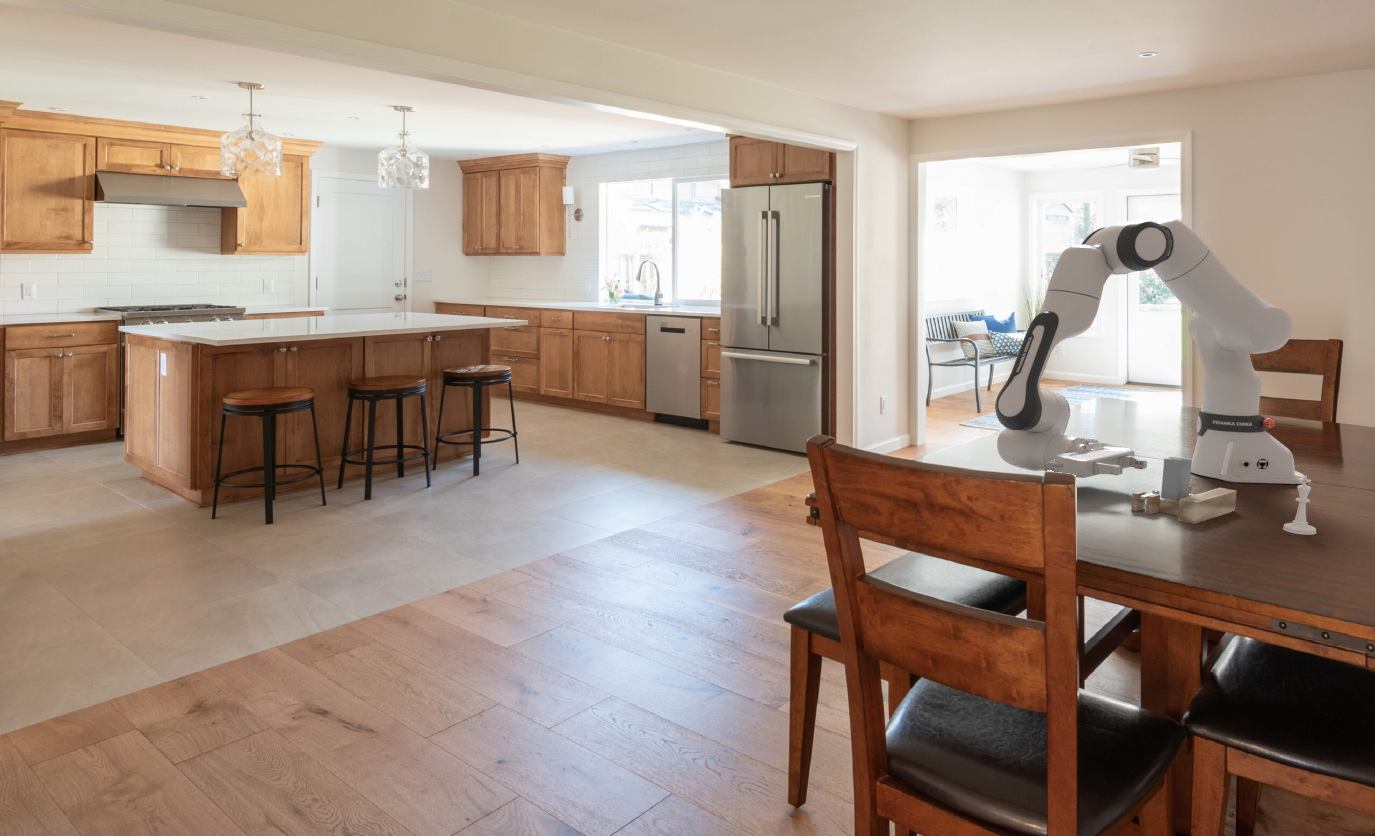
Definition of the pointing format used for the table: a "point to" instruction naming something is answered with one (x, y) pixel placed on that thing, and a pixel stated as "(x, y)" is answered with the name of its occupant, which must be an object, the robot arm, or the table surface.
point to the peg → (1176, 478)
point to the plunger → (1148, 495)
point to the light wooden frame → (1189, 505)
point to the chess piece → (1301, 512)
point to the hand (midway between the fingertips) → (1133, 468)
